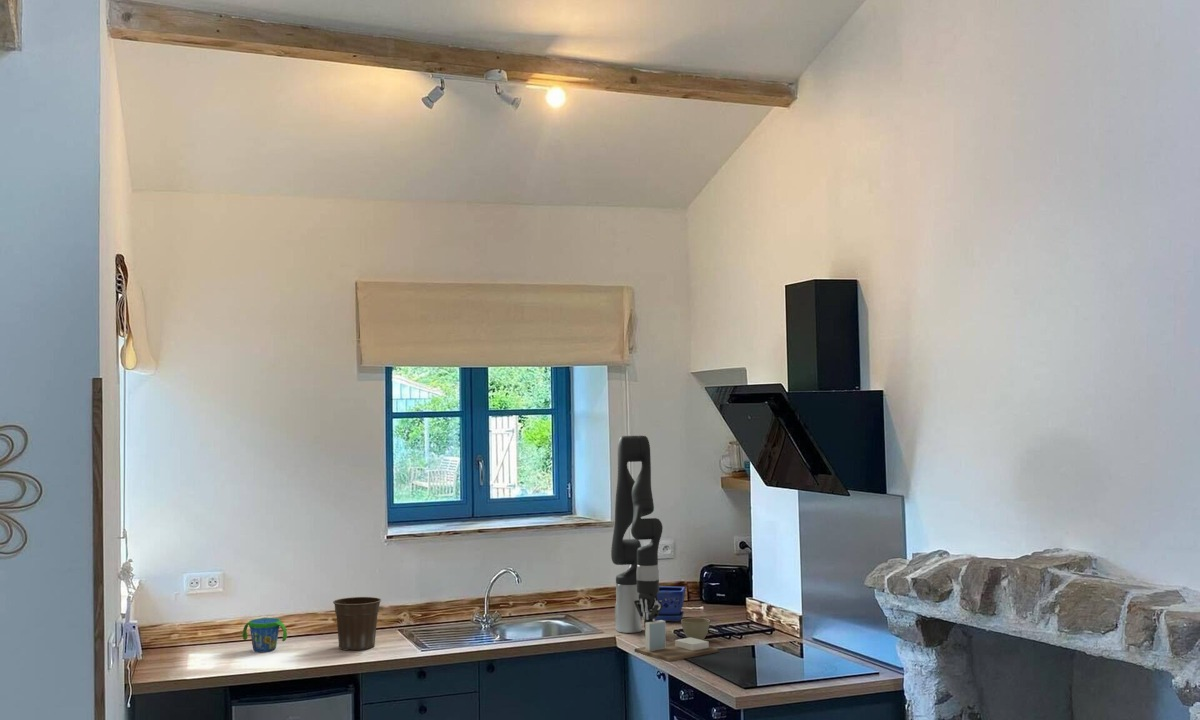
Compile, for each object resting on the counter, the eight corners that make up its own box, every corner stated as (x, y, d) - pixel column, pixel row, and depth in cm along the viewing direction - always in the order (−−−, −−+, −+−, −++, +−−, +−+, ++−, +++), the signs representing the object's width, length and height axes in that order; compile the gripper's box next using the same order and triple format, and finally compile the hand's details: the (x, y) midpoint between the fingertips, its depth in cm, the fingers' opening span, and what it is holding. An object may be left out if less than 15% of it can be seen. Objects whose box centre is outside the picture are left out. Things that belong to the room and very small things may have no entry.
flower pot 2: (708, 644, 357) (708, 623, 358) (679, 643, 359) (679, 622, 360) (711, 638, 367) (711, 617, 367) (683, 637, 369) (682, 617, 369)
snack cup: (293, 648, 362) (293, 618, 362) (275, 654, 352) (275, 624, 352) (254, 646, 366) (254, 616, 367) (235, 652, 356) (235, 622, 357)
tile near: (645, 650, 345) (645, 622, 345) (661, 647, 349) (661, 619, 349) (649, 651, 343) (649, 623, 344) (665, 648, 347) (665, 621, 348)
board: (634, 651, 347) (634, 648, 347) (682, 643, 359) (682, 640, 360) (669, 661, 333) (669, 658, 333) (718, 652, 345) (717, 648, 345)
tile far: (675, 640, 350) (692, 644, 342) (690, 637, 354) (708, 641, 347) (675, 646, 350) (692, 651, 342) (691, 643, 354) (708, 648, 346)
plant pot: (365, 640, 373) (365, 594, 374) (390, 646, 362) (390, 599, 363) (324, 647, 362) (324, 600, 363) (349, 654, 350) (348, 605, 351)
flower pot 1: (652, 616, 411) (651, 585, 412) (686, 616, 409) (685, 585, 410) (649, 622, 398) (648, 590, 399) (684, 622, 396) (683, 591, 397)
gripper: (626, 577, 353) (627, 629, 352) (651, 581, 343) (652, 635, 341) (644, 575, 358) (645, 626, 357) (668, 579, 347) (669, 632, 346)
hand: (648, 630), depth 349 cm, fingers closed
